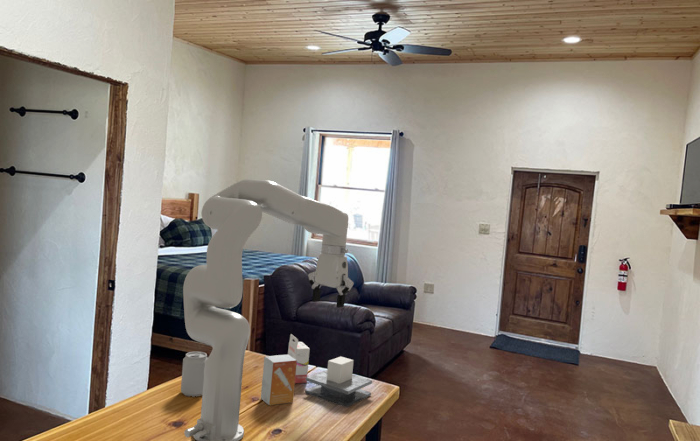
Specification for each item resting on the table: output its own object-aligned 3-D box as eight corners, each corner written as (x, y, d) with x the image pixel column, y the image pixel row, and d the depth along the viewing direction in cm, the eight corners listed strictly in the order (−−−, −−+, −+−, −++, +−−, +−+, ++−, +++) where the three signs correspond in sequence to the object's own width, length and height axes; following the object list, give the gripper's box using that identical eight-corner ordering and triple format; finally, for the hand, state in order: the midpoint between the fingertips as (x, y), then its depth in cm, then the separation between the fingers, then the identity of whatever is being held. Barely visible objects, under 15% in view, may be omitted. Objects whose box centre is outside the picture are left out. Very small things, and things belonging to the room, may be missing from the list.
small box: (269, 406, 160) (272, 362, 159) (260, 398, 165) (263, 356, 165) (293, 402, 164) (297, 359, 164) (284, 395, 170) (287, 353, 169)
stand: (346, 407, 164) (348, 391, 164) (304, 393, 173) (306, 377, 173) (370, 395, 176) (372, 380, 175) (330, 382, 184) (331, 368, 184)
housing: (351, 378, 176) (353, 360, 175) (339, 383, 170) (341, 364, 169) (339, 374, 178) (340, 356, 178) (326, 379, 172) (328, 360, 172)
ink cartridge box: (307, 383, 182) (311, 339, 181) (293, 384, 180) (297, 340, 179) (299, 374, 190) (302, 332, 189) (285, 375, 188) (289, 333, 187)
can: (175, 395, 162) (178, 355, 161) (188, 387, 169) (191, 348, 169) (198, 399, 160) (201, 359, 160) (210, 391, 167) (213, 352, 167)
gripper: (362, 254, 171) (356, 308, 171) (319, 247, 181) (314, 298, 181) (348, 254, 165) (342, 310, 165) (304, 247, 175) (299, 300, 175)
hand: (327, 304), depth 173 cm, fingers open, 9 cm apart
